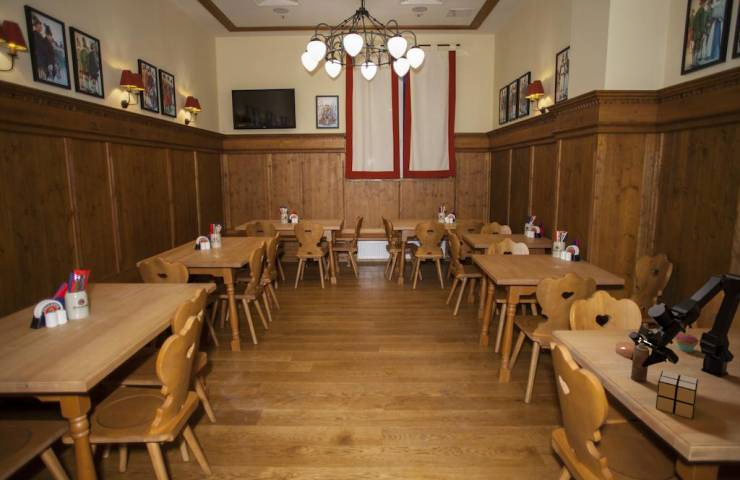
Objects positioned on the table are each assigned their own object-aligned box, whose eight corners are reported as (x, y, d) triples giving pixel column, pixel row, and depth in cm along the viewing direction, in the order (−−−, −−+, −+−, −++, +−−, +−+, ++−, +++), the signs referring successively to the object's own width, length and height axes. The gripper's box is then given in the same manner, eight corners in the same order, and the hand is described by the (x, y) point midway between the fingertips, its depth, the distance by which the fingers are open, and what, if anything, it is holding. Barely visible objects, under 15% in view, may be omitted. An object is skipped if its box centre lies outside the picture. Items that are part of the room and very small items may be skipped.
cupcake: (697, 355, 184) (700, 328, 183) (672, 350, 190) (675, 324, 188) (697, 348, 191) (700, 322, 189) (674, 344, 196) (676, 318, 194)
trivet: (654, 357, 184) (655, 350, 183) (635, 362, 179) (635, 355, 179) (627, 346, 195) (628, 340, 194) (608, 351, 190) (609, 344, 190)
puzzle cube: (659, 396, 152) (662, 370, 150) (694, 406, 145) (698, 378, 144) (655, 409, 144) (658, 381, 142) (692, 420, 138) (696, 390, 136)
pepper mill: (649, 381, 163) (653, 344, 160) (640, 383, 161) (644, 346, 158) (636, 375, 167) (640, 339, 165) (627, 378, 165) (631, 341, 163)
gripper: (634, 311, 170) (607, 340, 170) (675, 328, 152) (644, 361, 152) (650, 329, 172) (623, 357, 172) (692, 348, 154) (661, 380, 154)
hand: (636, 363), depth 163 cm, fingers closed on pepper mill, 5 cm apart
